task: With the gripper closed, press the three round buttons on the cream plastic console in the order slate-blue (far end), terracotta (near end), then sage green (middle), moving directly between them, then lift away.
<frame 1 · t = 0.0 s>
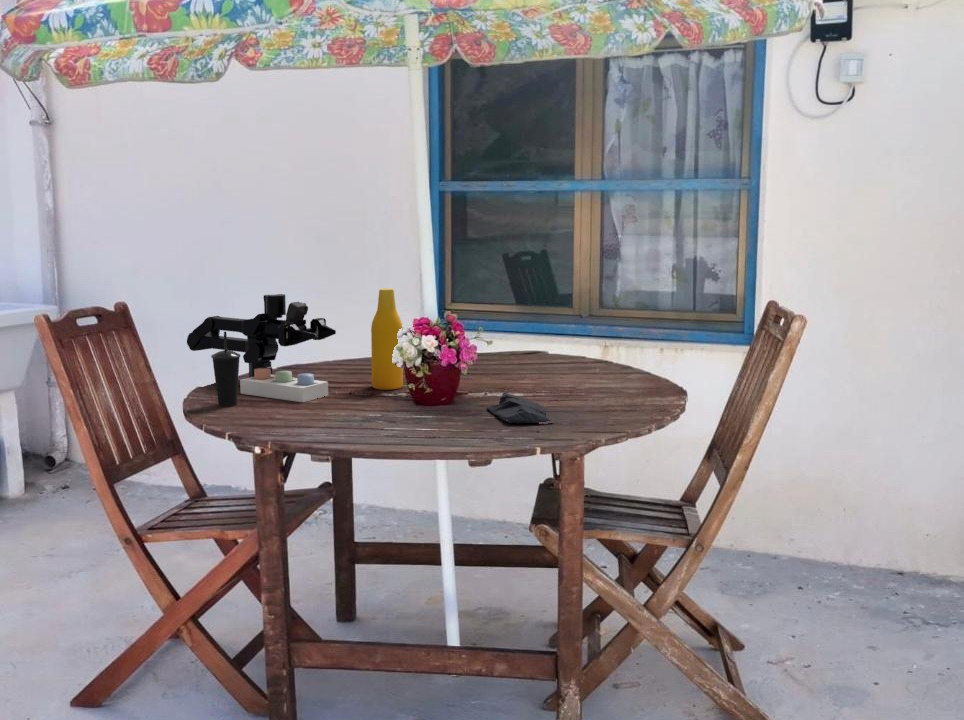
hand: (325, 334, 308), 17 cm above the table, tool horizontal, fingers open, 9 cm apart
drinking cup: (227, 405, 291), on the table
button terracotta: (262, 377, 308), point 4 cm above the table, slide at 0.0 cm
dark slate chunk: (520, 418, 280), on the table
console: (284, 394, 305), on the table
button slate: (305, 383, 300), point 4 cm above the table, slide at 0.0 cm
beer bottle: (387, 387, 317), on the table
button sage: (283, 380, 304), point 4 cm above the table, slide at 0.0 cm
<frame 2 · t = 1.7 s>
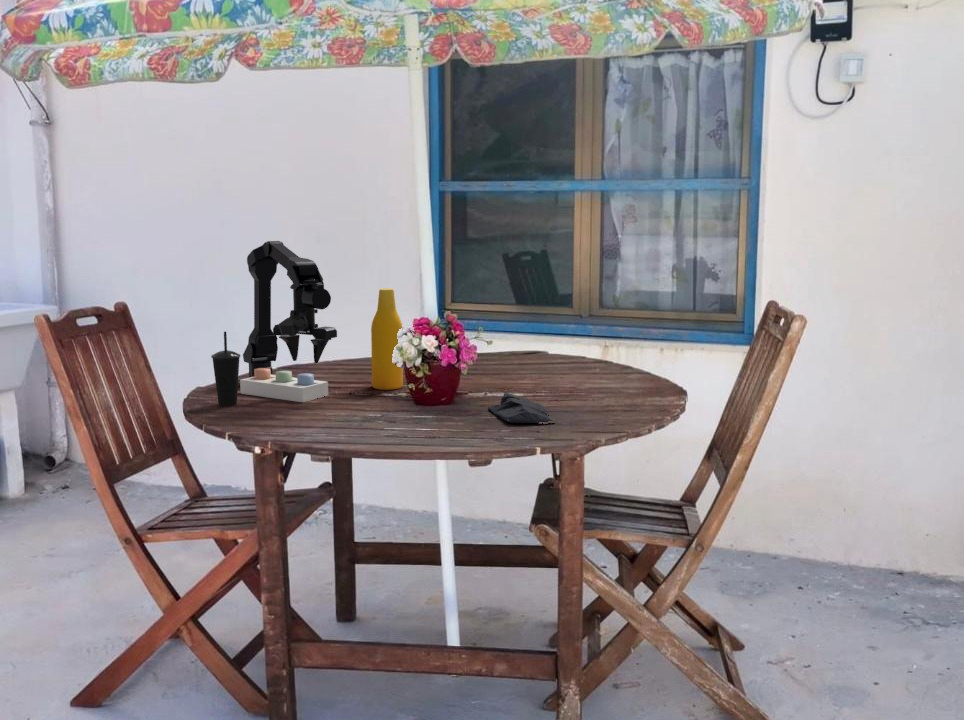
hand: (305, 361, 299), 10 cm above the table, tool pointing down, fingers open, 7 cm apart
nothing on the table moved.
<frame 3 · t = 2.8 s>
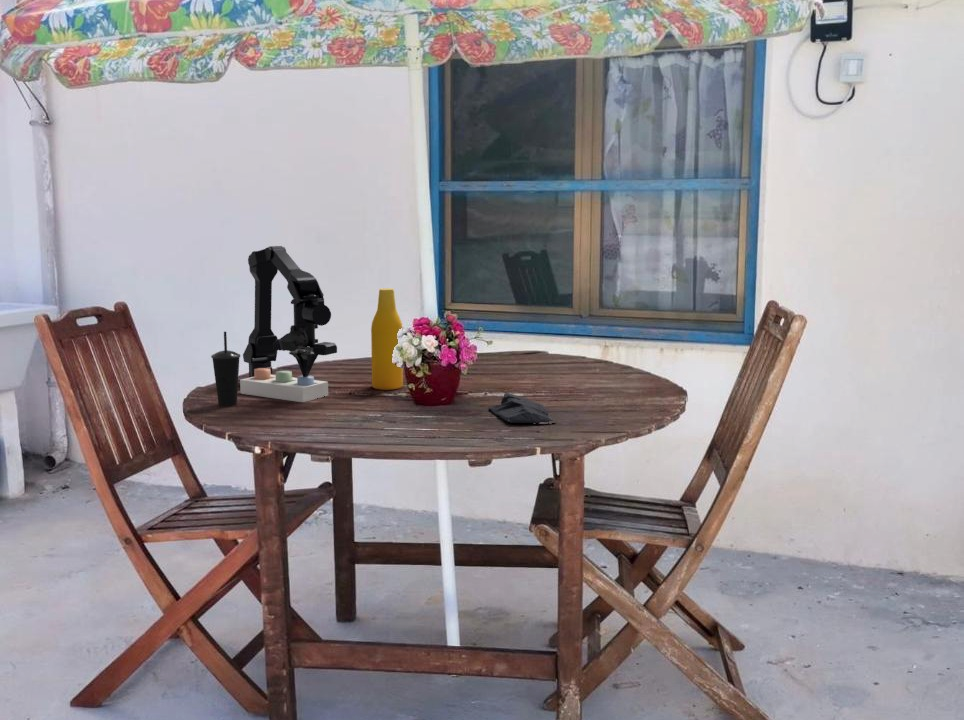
hand: (305, 376, 300), 6 cm above the table, tool pointing down, fingers closed, pressing on button slate
button slate: (305, 385, 300), point 3 cm above the table, slide at 0.6 cm, touching gripper
everything else where it was.
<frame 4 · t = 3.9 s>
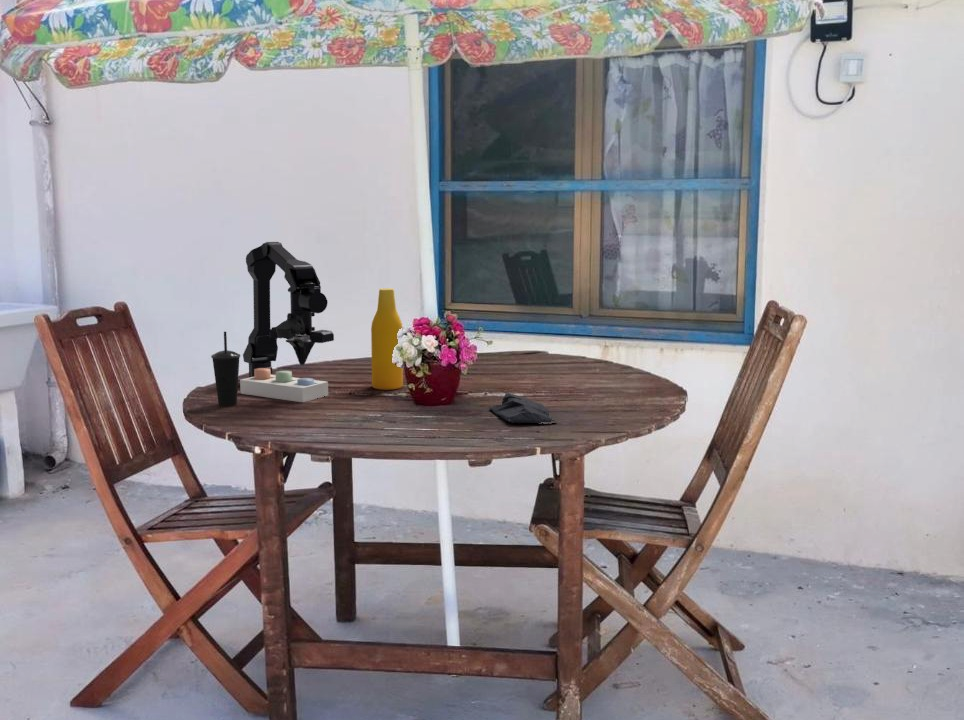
hand: (302, 364, 300), 9 cm above the table, tool pointing down, fingers closed
button slate: (305, 388, 300), point 3 cm above the table, slide at 1.3 cm
everything else where it was.
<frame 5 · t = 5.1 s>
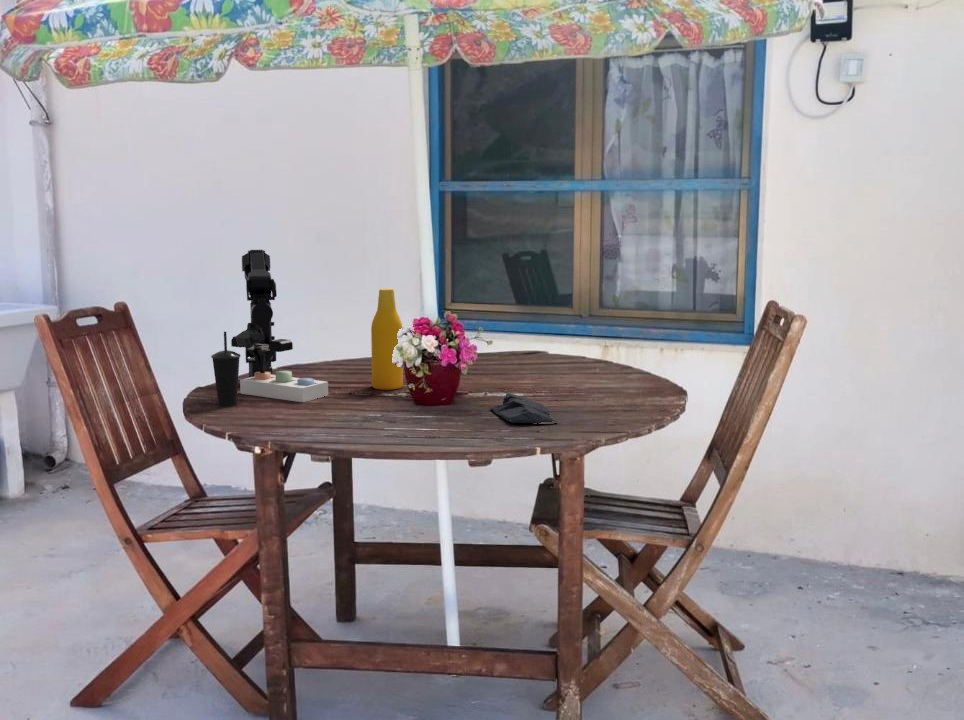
hand: (262, 372, 308), 5 cm above the table, tool pointing down, fingers closed, pressing on button terracotta
button terracotta: (262, 381, 308), point 3 cm above the table, slide at 1.1 cm, touching gripper
everything else where it was.
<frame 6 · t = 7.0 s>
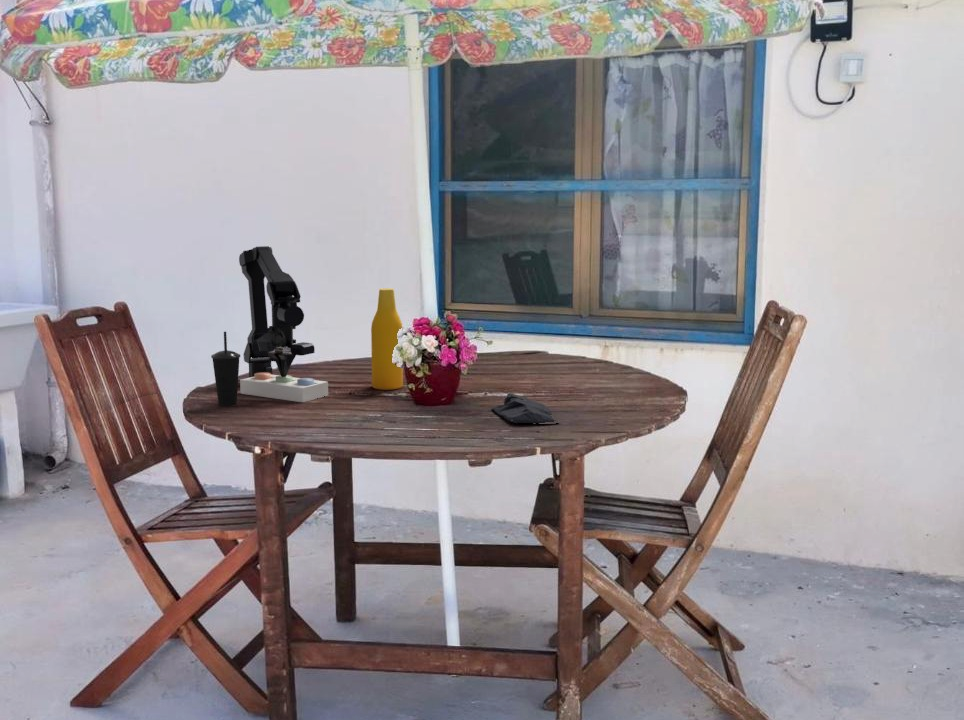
hand: (283, 376, 304), 5 cm above the table, tool pointing down, fingers closed, pressing on button sage
button terracotta: (262, 382, 308), point 3 cm above the table, slide at 1.3 cm
button sage: (284, 385, 304), point 3 cm above the table, slide at 1.3 cm, touching gripper
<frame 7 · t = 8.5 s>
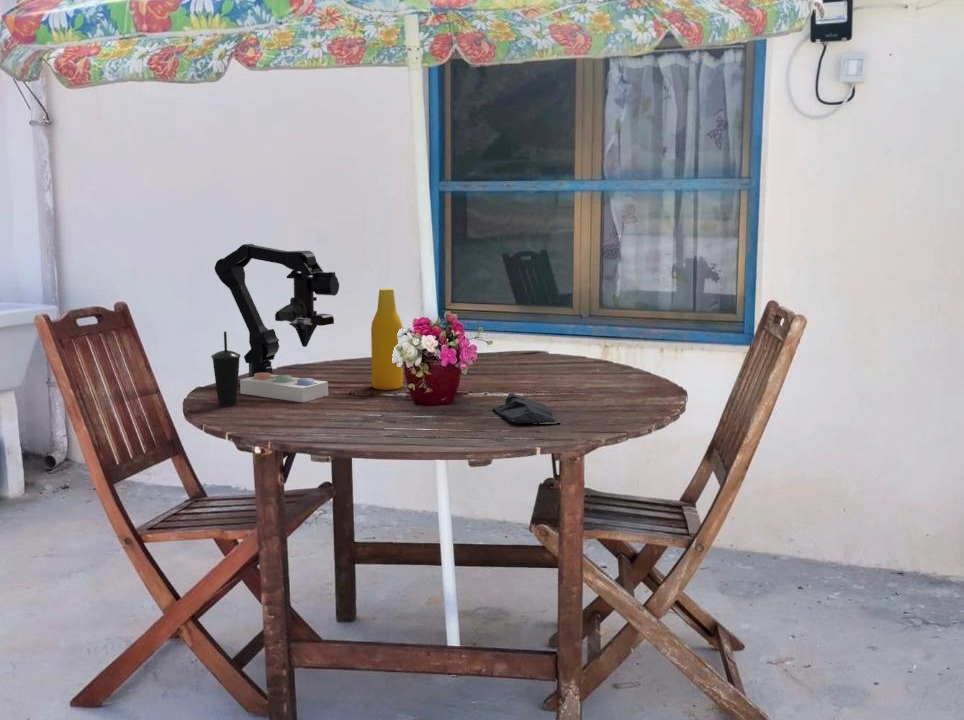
hand: (304, 346, 317), 12 cm above the table, tool pointing down, fingers closed
button sage: (284, 385, 304), point 3 cm above the table, slide at 1.3 cm
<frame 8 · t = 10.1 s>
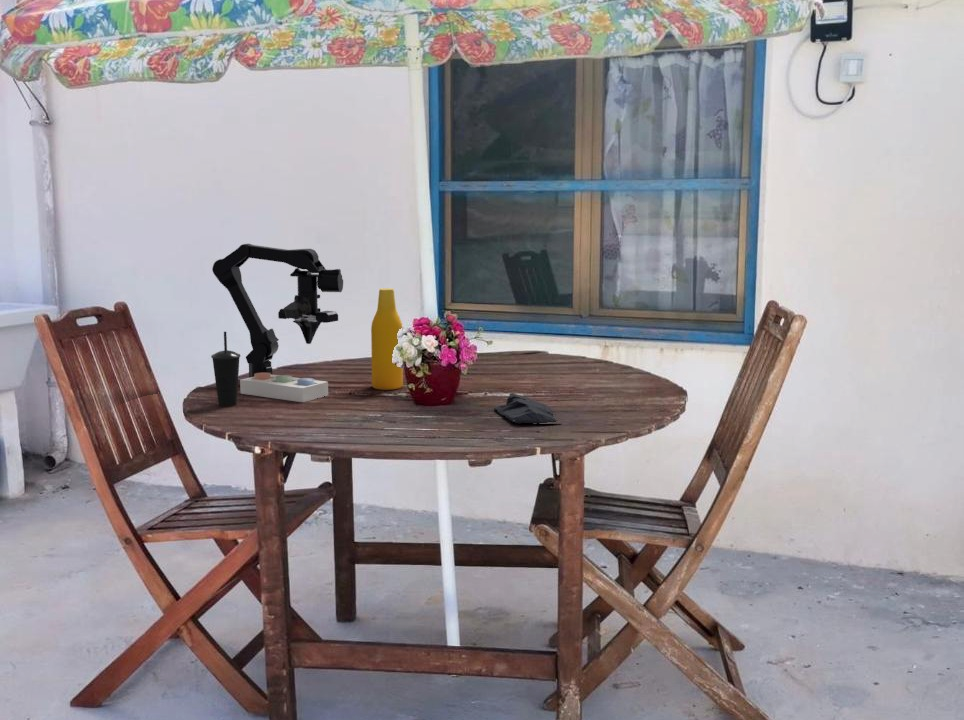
hand: (308, 343, 320), 12 cm above the table, tool pointing down, fingers closed
at the end: button slate slide at 1.3 cm; button terracotta slide at 1.3 cm; button sage slide at 1.3 cm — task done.
